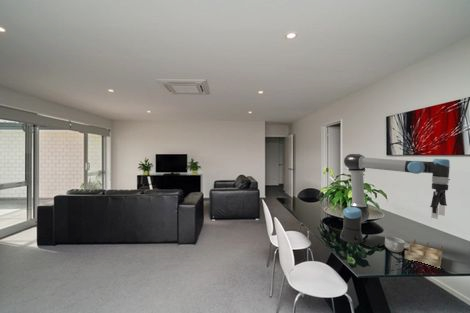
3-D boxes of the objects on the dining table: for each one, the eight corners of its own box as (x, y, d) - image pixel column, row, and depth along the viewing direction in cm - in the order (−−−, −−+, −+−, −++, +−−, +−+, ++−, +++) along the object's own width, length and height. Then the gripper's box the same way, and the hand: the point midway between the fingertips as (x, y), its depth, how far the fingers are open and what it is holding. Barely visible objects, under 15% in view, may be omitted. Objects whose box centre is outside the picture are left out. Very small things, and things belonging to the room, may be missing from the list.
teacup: (385, 245, 152) (385, 234, 151) (404, 250, 145) (405, 238, 145) (383, 252, 141) (383, 240, 141) (404, 257, 134) (404, 245, 134)
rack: (404, 258, 133) (405, 246, 133) (409, 249, 146) (409, 238, 146) (440, 269, 122) (440, 255, 121) (441, 258, 135) (442, 245, 135)
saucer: (389, 244, 155) (389, 242, 155) (392, 240, 163) (392, 237, 163) (410, 250, 146) (410, 247, 146) (412, 245, 154) (413, 243, 154)
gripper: (441, 185, 125) (439, 221, 125) (453, 183, 138) (451, 215, 139) (425, 183, 131) (423, 217, 132) (438, 181, 145) (436, 212, 145)
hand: (438, 216), depth 135 cm, fingers open, 13 cm apart
